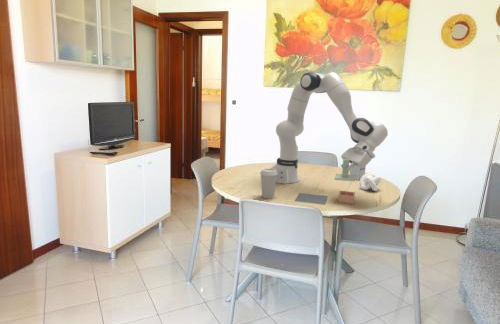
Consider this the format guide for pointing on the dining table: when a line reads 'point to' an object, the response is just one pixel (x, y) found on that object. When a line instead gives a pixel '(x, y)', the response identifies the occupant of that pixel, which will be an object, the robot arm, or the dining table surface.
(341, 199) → the open box
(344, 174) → the lid
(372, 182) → the white knot sculpture
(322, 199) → the mat
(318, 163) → the dining table surface
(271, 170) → the coffee cup
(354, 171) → the supplement box
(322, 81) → the robot arm
